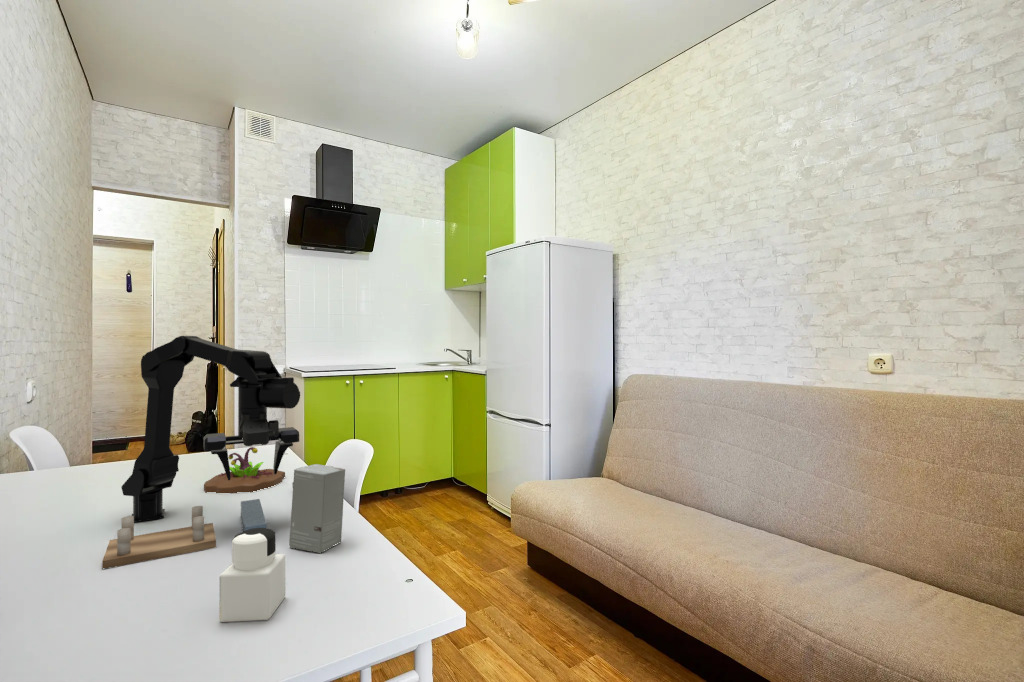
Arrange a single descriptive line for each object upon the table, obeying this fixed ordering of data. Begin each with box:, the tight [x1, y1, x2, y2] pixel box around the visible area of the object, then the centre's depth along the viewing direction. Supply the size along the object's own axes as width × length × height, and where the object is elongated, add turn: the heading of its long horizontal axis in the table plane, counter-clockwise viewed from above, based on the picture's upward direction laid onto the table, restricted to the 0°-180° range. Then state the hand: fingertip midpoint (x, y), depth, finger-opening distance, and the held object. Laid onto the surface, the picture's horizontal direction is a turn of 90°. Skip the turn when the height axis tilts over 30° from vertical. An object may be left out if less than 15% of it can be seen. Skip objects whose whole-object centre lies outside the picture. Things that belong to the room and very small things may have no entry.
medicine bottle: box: [219, 527, 286, 623], centre depth 78 cm, size 7×7×12 cm
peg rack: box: [101, 505, 217, 570], centre depth 103 cm, size 12×18×6 cm, turn 123°
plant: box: [203, 446, 286, 494], centre depth 150 cm, size 20×20×11 cm
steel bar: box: [240, 498, 267, 531], centre depth 113 cm, size 20×4×4 cm, turn 30°
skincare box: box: [288, 463, 346, 554], centre depth 104 cm, size 8×7×16 cm
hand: (252, 476), depth 113 cm, fingers open, 9 cm apart
